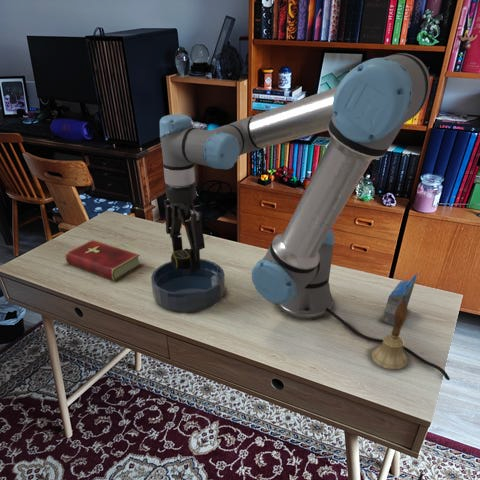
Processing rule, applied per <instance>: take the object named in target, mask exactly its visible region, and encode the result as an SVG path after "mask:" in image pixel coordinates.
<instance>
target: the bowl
mask: <svg viewBox="0 0 480 480" xmlns="http://www.w3.org/2000/svg"><path fill="white" fill-rule="evenodd" d="M150 279H151V288H152V294H153V298H154V300H155V302H156V303H158V305H160V306H162V307H163V308H164V309H166V310H169V311H171V312H178V313H195V312H200V311H204V310H207V309H210V308H212V307H214V306H215V305H217V304H218V303H219V302H220V301H221V300H222V299H223V297H224V295H225V292H226V279H225V271H224V269H223V268H222V267H221V265H219V264H217V263H216V262H214V261H212V260H208V259H204V258H200V269H198V270H196V271H193V272H192V271H191V270H190V268H189V269H177V268H175V267H174V266H173V265H172V263H171V260H170V261H168V262H165V263H163V264H161V265H159V266H158V267H157V268H155V270H154V271H153V272H152V274H151V276H150Z"/></svg>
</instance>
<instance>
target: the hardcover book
mask: <svg viewBox="0 0 480 480" xmlns="http://www.w3.org/2000/svg"><path fill="white" fill-rule="evenodd" d="M64 257H65V261H66V263H67V264H68V265H70V266H73V267H75V268H78V269H80V270H83V271H86V272H88V273H90V274H94V275H97V276H98V277H99V276H100V277H102V278H105V279H108V280H110V281H113V282H117V281H118V280H120V279H122V278H124V277H125V276H127V275H128V274H130V273H132V272H133V271H135V270H136V269H138V268H140V267H141V266H142V264H140V262H139V261H140V260H139V257H140V254H138V253H136V252H132V251H129V250H126V249H123V248H120V247H117V246H113V245H111V244H107V243H105V242H101V241H99V240H95V239H91V240H89V241H87V242H85V243H83V244H81V245H79V246H77V247H75V248H73V249H71V250H68V251H67V252H65V254H64Z"/></svg>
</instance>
